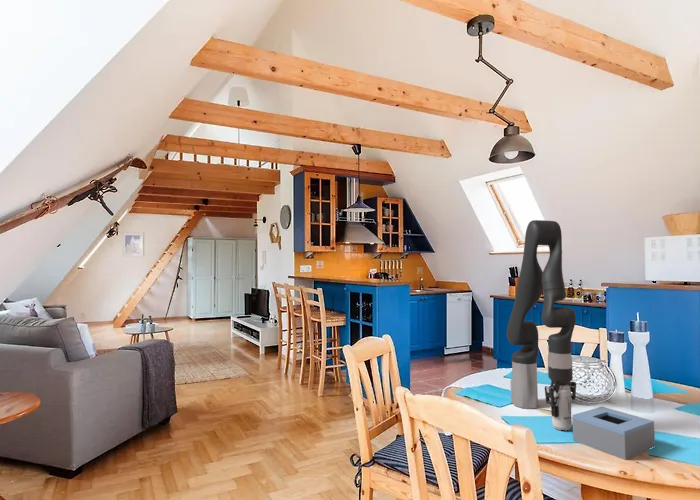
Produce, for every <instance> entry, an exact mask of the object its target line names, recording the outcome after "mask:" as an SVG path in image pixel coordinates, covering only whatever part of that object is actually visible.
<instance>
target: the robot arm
mask: <svg viewBox="0 0 700 500" xmlns="http://www.w3.org/2000/svg"><path fill="white" fill-rule="evenodd" d="M562 234H563V233H562V229H561V226H560V223H558V222H557V221H555V220H542V219H541V220H539V219H538V220H537V219H535V220H531V221H530V222H529V223H528V224H527V227H526V230H525V236H524V237H525V238H524V245H523V257H522V262H521V267H520V271H519V277H518V281H517V286H516V292H515V298H514V303H513V307H512V310H511V314H510V316H509V319H508V323H507V327H506V328H507V329H506V338H507V341H508V343H509V344H511V345H514V346H521V348H520V349H518V350H517V351H515V352H513V353H512V355H511V370H512V377H511V379H510V403H511V404H513V405H514V406H515V407H518V408H521V409H536V408H538V407H539V397H538V396H539V392H538V366H537V364H538V362H537V361H538V355H539V331H538V327H537V324H536V323H535V322H534V321H531V320H525V319H526V316H527V315H528V313H530V311H531V310H532V309H533V307H534V306H535V305H536V304H537V303H538V302H539V300H540V299H541V297H542V295H543V306H542V311H541V320H542V323H543V325H544V326H545V327H547V328H550V329H551V328H552V329H554V328H555V329H556V328H557V329H558V328H561V329H560V331H558V332H556V333H553V334H550V335H549V336H548V337H547V338H548V339H547V343H548V344H547V345H548V347H547V348H548V349H547V350H548V354H547V370H548V371H547V373H548V374H547V375H548V379H550V382H551V383H550V385H548V386H547V385H545V386H544V393H545V394H544V395H545V402H546V404H548V405H550V408H551V409H550V411H551V417H552V416H554V417H559V406H558V404H559V400H561V392H560V393H559V395H558V396H554V391H556V393H558V391H559V388H560V386H561V385H565V384H568V386H569V388H570V390H571V403H573V401H575V400H576V399H577V398H576V396H577V395H576V393H577V381H573V379H574V378H573V377H574V376H573V357H572V356H573V355H572V337H573V333H574V329H575V326H576V321H577V316H576V312H575V310H574V309H572V308H571V307H569V306H554V305H555V303H556V302H561V301H563V300H565V299H566V296H567V292H566V287H565V282H564V276H563V275H564V274H563V244H562V243H563V242H562V240H563V239H562V237H563V236H562ZM539 246H548V250H549V257H548V259H547V261H546V262H547V263H546V265H545V266H544V269H542V268H541V266H540V263H539V260H538V254H537V253H538V248H539ZM562 389H563V387H562ZM562 389H561V391H562ZM554 398H556V401H555V400H554Z"/></svg>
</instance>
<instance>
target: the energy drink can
mask: <svg viewBox="0 0 700 500" xmlns="http://www.w3.org/2000/svg"><path fill="white" fill-rule="evenodd" d="M562 387H563V389H562ZM561 389H562V391H561ZM560 392H561V400H559V404H558V406H559V417H554V416H552V415H551V425H552V426H553V428H554V427H555V428H556V429H555V428H554V429H555V430H557V429H558V431H561V430H565V431H564V432H568V431H570V430H571V428H573V420H572V402H571V394H572V392H571V390H570V388H569V386H568V384H565V385H561V386H560V388H559V391H558V393H556V391H554V396H558V395H559V393H560ZM554 400H555V401H556V398H554ZM567 430H568V431H567Z"/></svg>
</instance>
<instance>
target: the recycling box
mask: <svg viewBox="0 0 700 500" xmlns="http://www.w3.org/2000/svg"><path fill="white" fill-rule="evenodd" d="M571 420H572V441H573V442H577V443H579V444H582V445H585V446H586V447H589V448H593V449H596V450H598V451H601V452H604V453H606V454H609V455H611V456H614V457H616V458H619V459H622V460H624V461H625V460H628V459H631V458H634V457H636V456H638V455H640V454H643V453H645V452H648V451H650V450H651V449H650V448H652V447H654V446H655V447H656V439H655V436H656V435H655V421H654V420H651V419H648V418H644V417H641V416H637V415H633V414H630V413H627V412H623V411H619V410H616V409H613V408H609V407H606V406H599V407H595V408H592V409H588V410H585V411H582V412H579V413H575V414H571ZM649 449H650V450H649Z"/></svg>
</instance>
